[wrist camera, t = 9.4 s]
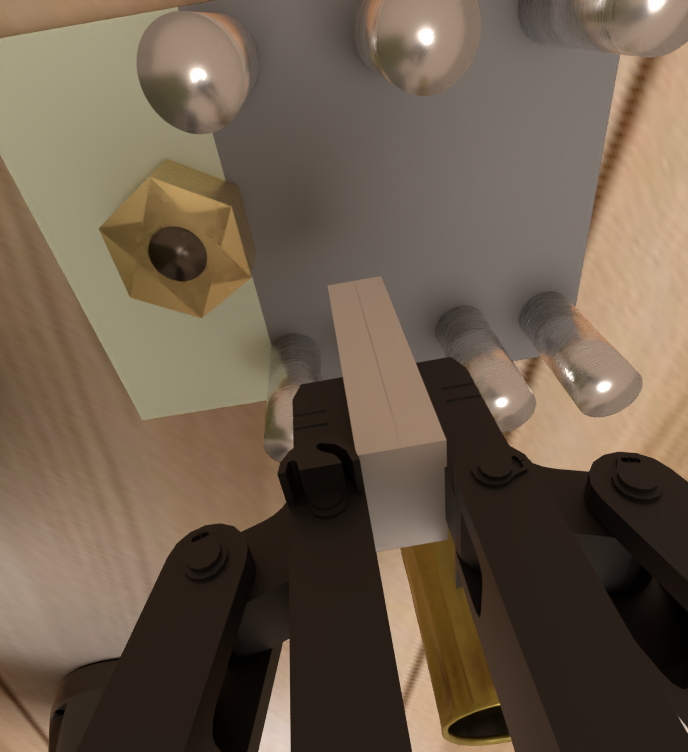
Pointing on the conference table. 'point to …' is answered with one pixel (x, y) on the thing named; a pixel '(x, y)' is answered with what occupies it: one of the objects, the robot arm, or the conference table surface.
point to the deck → (313, 186)
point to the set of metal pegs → (421, 78)
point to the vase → (453, 648)
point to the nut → (181, 240)
